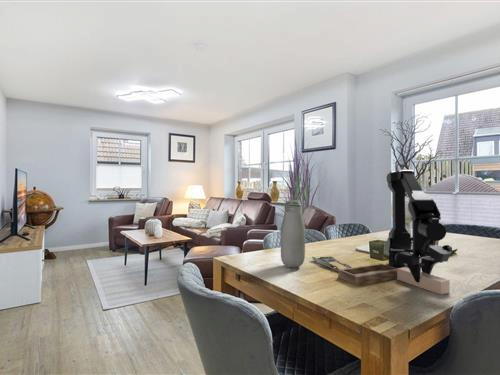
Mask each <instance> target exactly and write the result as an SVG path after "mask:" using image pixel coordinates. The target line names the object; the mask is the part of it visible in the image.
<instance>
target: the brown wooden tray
mask: <svg viewBox="0 0 500 375" xmlns="http://www.w3.org/2000/svg"><path fill="white" fill-rule="evenodd" d="M339 269H340V268H339ZM337 278H338V279H340V280H343V281H345V282H348V283H350V284H352V285H354V286H358V287H360V286H361V287H362V286H365V285H370V284H375V283H376V284H377V283H380V282H385V281H390V280H391V281H392V280H398V279H397V268H394V267H391V266H388V265H386V264H384V263H380V262H379V263H372V264H367V265H361V266H355V267H352V268H348V267H346V268H342V269H340V270H339V271H338V274H337Z"/></svg>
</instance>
